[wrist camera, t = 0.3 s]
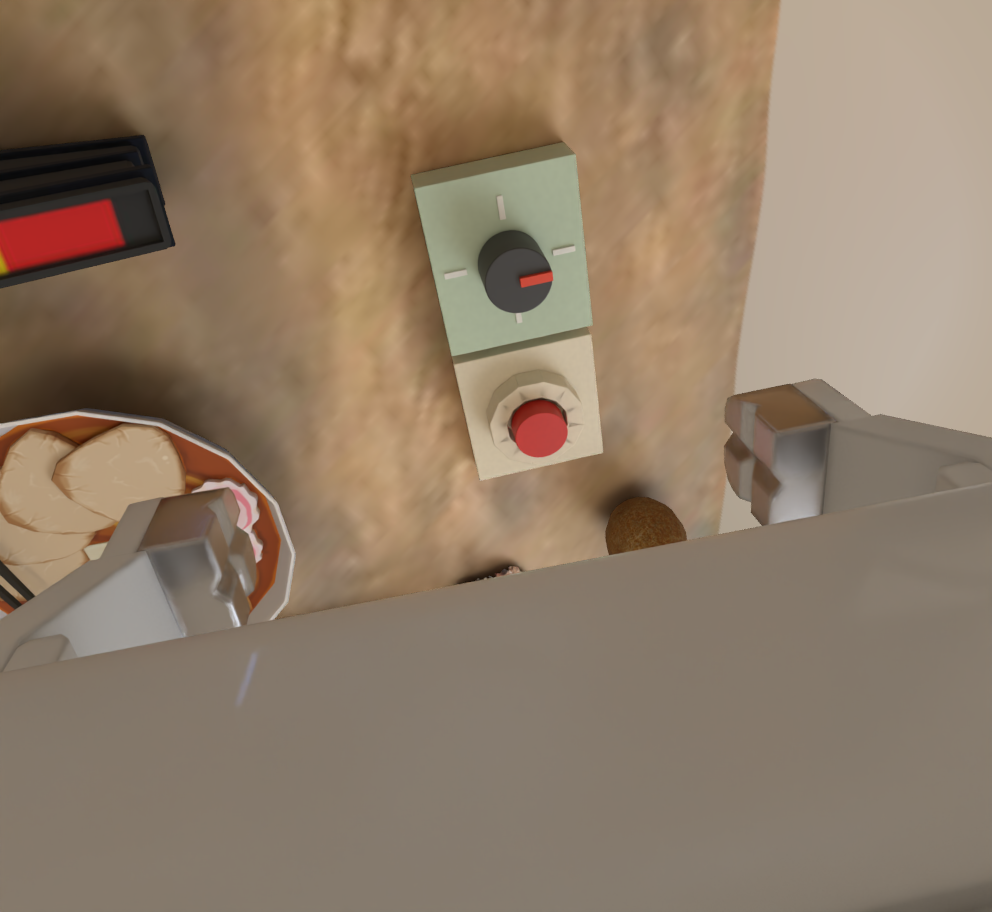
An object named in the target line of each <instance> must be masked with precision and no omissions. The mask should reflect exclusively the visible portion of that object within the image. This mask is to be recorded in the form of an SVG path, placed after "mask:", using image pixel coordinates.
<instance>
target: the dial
mask: <svg viewBox="0 0 992 912" xmlns="http://www.w3.org/2000/svg"><path fill="white" fill-rule="evenodd" d="M478 271H479V274H480V277H481V280H482V282H483V285H484V288H485V291H486V293H487V296H488V298H489V299H490V301H491V302H492V303H493V304H494V305H495V306H496V307H497V308H499V309H501V310H503V311H506V312H509V313H523V312H527V311H530V310H532V309H534V308H536V307H537V306H538V305H540V304H541V303H542V302H543V301H544V300H545V298H546V297H547V295H548V294H549V292H550V289H551V286H552V281H553V272H552V270H551V267H550V264H549V262H548V261H547V259H546V257H545V256H544V254H543V252H542V250H541V249H540V247H539V245H538V244H537V242H536V241H535V240H534V239H533V238H532V237H531V236H529V235H528V234H526V233H524V232H521V231H516V230H508V231H503V232H500V233H498V234H496V235H494V236H493V237H491V238H490V239H489V240H488V241H487V242H486V243H485V244H484V246H483V247H482V249H481V251H480V254H479V257H478Z"/></svg>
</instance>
